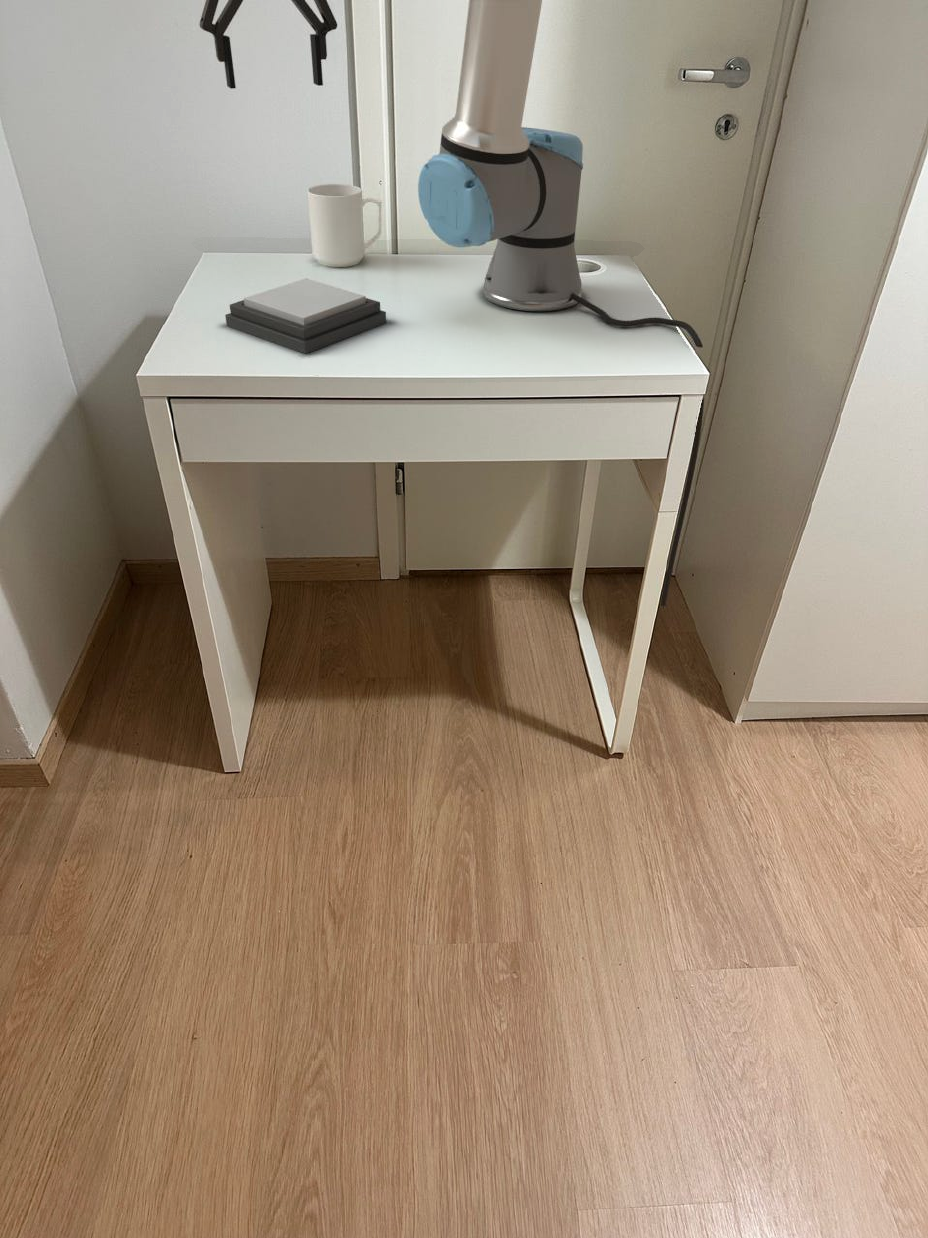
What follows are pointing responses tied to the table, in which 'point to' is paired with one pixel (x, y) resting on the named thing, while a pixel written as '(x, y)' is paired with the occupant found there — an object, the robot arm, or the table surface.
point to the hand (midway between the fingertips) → (275, 85)
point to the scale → (306, 326)
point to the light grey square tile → (304, 301)
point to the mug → (338, 224)
